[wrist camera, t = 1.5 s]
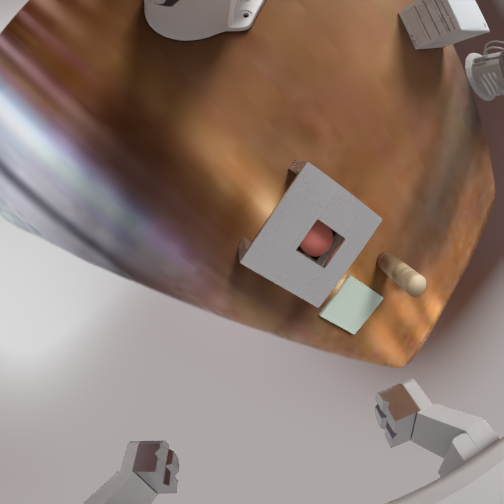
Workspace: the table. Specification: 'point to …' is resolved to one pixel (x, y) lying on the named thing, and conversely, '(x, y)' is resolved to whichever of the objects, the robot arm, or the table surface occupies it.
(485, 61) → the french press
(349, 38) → the table surface
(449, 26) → the supplement box
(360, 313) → the coaster
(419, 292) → the dowel
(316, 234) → the button
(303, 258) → the box
